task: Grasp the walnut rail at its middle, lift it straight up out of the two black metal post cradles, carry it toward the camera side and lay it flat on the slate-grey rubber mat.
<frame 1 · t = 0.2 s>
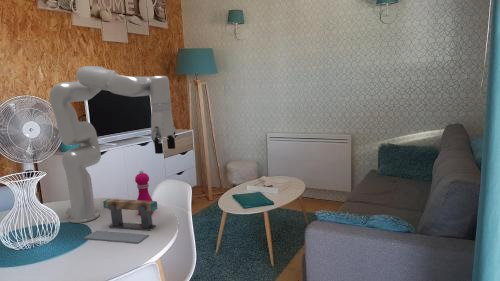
hand: (165, 151, 152), 31 cm above the table, fingers open, 9 cm apart
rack: (132, 227, 156), on the table
mat: (116, 237, 146), on the table
rail: (130, 208, 155), point 8 cm above the table, touching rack
pepper mill: (145, 213, 173), on the table
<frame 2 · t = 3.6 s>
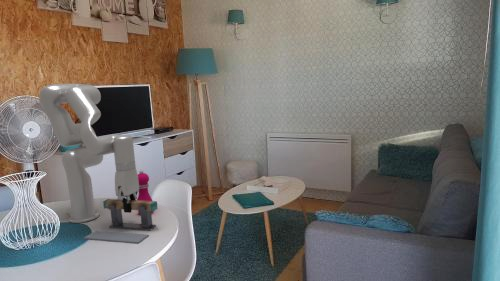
hand: (130, 210, 155), 7 cm above the table, fingers closed on rail, 3 cm apart
rail: (130, 208, 155), point 8 cm above the table, touching gripper, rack
everything else where it was.
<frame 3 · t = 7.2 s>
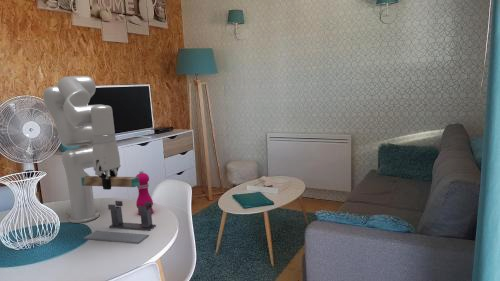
hand: (110, 187, 143), 20 cm above the table, fingers closed on rail, 3 cm apart
rail: (110, 185, 143), point 21 cm above the table, touching gripper
everything else where it was.
when the fingers open (1 cm above the table, at t = 11.0 s): rail drops 1 cm, resting on mat.
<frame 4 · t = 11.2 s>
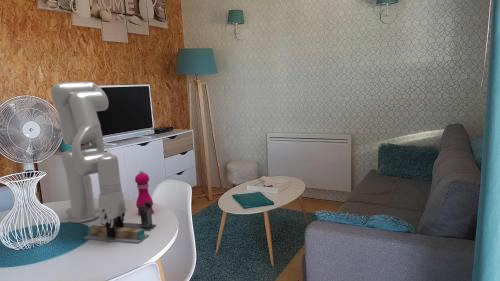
hand: (115, 233, 146), 2 cm above the table, fingers open, 4 cm apart
rail: (116, 236, 146), point 1 cm above the table, touching mat
everything else where it was.
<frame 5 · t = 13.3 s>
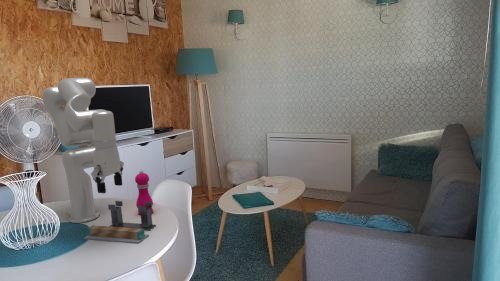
hand: (110, 189, 145), 19 cm above the table, fingers open, 9 cm apart
nothing on the table moved.
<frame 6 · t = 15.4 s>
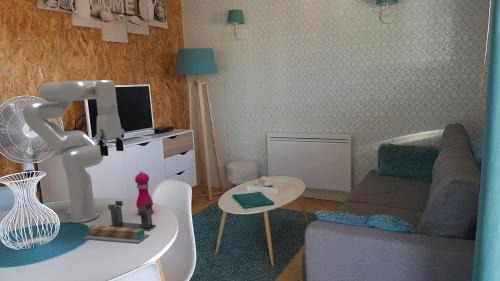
hand: (112, 153, 156), 30 cm above the table, fingers open, 9 cm apart
nothing on the table moved.
at the end: rail inside the target area on the mat (0.1 cm from its centre), point 0.6 cm above the mat's base; rail tilted 0°; rail touching mat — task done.
